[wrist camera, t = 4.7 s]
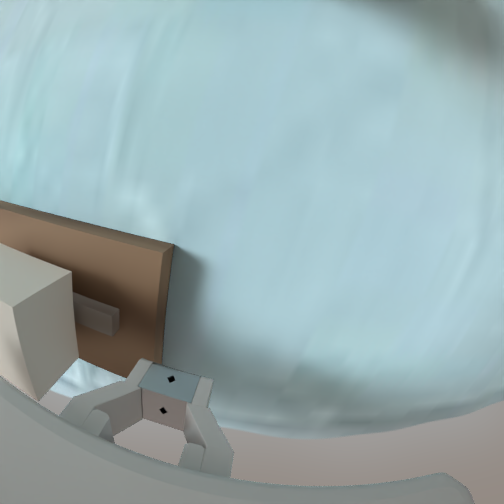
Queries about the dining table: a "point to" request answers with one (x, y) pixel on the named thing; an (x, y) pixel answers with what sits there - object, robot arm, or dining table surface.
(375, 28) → the dining table surface
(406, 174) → the dining table surface
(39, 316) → the block
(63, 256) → the gauge base
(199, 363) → the dining table surface
